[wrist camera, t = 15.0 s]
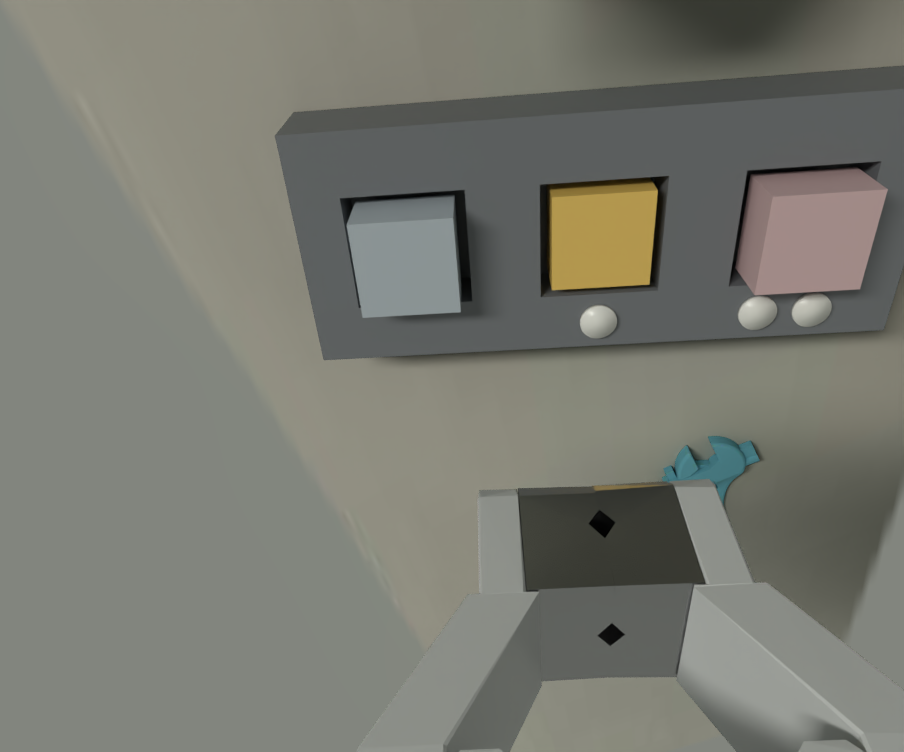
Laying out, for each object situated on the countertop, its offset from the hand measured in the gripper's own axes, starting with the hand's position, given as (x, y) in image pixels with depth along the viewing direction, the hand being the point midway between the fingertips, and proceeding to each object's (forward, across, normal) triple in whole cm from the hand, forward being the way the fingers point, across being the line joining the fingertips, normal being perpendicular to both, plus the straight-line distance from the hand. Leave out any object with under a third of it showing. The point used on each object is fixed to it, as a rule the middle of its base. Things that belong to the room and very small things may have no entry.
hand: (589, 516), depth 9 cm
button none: (+18, +4, +4) cm, 19 cm away
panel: (+20, -3, +4) cm, 21 cm away
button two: (+18, -10, +4) cm, 21 cm away
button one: (+19, -3, +4) cm, 20 cm away
